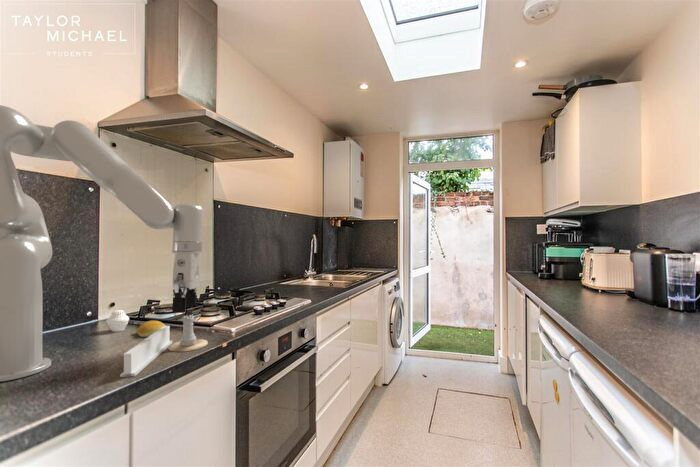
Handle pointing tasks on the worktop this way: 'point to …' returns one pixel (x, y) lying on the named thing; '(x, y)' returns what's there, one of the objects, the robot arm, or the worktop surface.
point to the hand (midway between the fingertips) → (184, 308)
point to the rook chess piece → (188, 332)
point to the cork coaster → (178, 348)
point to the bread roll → (149, 328)
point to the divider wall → (146, 352)
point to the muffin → (118, 321)
